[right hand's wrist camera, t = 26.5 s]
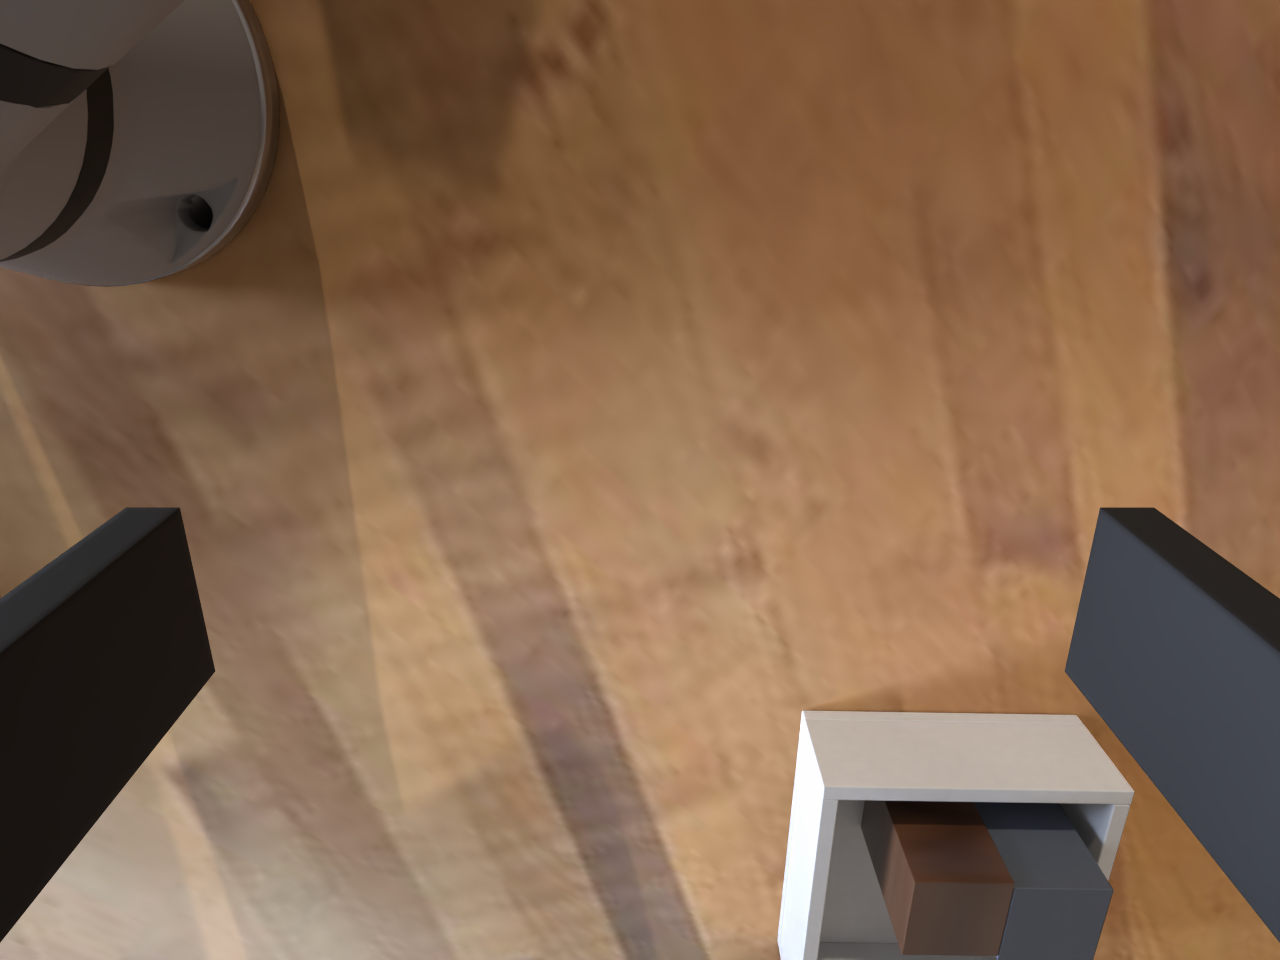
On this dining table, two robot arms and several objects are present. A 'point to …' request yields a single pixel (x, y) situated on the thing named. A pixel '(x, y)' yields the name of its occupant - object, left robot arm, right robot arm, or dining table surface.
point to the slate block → (1047, 883)
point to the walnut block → (938, 876)
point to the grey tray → (922, 771)
